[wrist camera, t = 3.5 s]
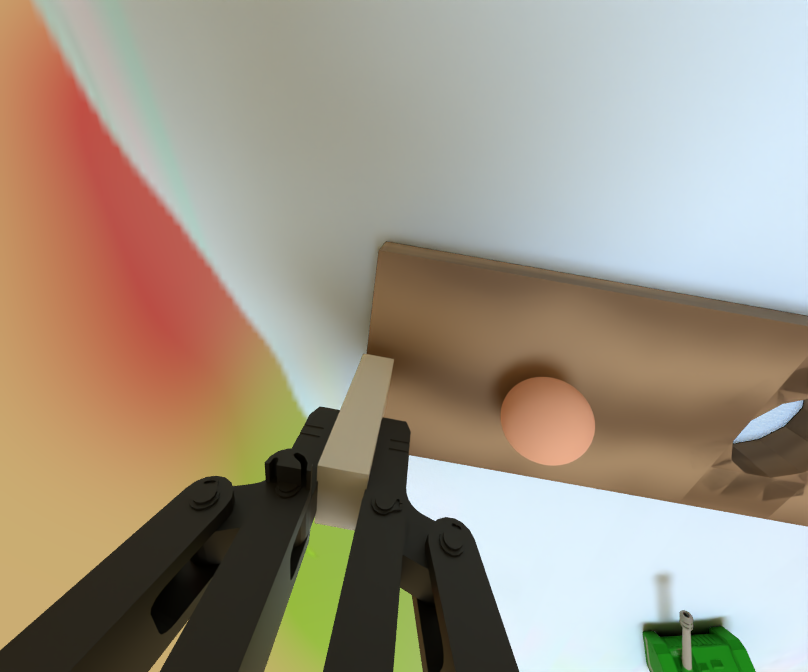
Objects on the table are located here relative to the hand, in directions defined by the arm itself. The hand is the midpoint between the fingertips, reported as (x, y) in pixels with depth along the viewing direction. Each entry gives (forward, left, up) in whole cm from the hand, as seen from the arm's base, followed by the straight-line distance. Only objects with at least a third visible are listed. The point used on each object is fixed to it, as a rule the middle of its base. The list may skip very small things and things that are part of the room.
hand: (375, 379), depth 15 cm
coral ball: (0, +8, +1) cm, 8 cm away
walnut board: (0, +14, -4) cm, 15 cm away
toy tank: (+25, +32, -4) cm, 41 cm away
